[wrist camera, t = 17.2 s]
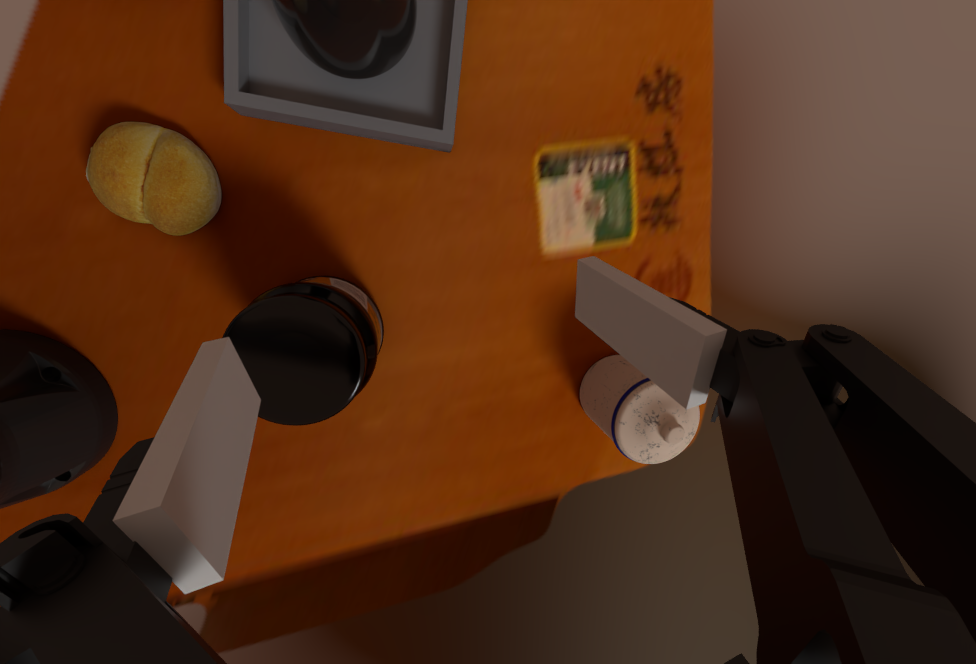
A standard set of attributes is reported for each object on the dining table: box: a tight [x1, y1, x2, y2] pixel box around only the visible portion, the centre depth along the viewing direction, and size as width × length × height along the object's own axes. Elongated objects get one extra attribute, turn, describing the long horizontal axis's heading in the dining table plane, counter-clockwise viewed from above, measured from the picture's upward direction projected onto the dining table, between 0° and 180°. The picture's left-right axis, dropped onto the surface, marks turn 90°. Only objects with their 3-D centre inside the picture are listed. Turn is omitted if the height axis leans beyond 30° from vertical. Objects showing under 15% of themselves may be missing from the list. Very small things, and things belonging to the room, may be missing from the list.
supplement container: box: [223, 276, 384, 425], centre depth 33 cm, size 10×10×12 cm
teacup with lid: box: [580, 355, 700, 464], centre depth 40 cm, size 12×9×12 cm
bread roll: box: [86, 122, 222, 235], centre depth 32 cm, size 8×9×4 cm
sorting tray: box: [223, 0, 468, 152], centre depth 32 cm, size 18×16×3 cm
